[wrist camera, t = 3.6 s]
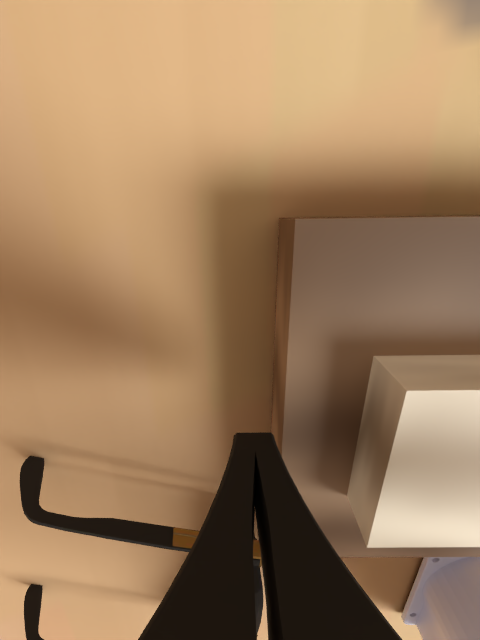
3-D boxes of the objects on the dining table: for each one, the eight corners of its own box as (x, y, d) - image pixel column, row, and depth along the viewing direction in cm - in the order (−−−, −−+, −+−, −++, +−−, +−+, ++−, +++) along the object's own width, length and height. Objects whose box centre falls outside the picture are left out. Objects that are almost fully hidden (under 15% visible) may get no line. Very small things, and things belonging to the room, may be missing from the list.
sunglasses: (34, 449, 16) (-50, 545, 11) (274, 497, 18) (286, 598, 13) (34, 579, 21) (-24, 682, 16) (222, 607, 22) (217, 710, 18)
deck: (558, 489, 17) (636, 556, 13) (268, 491, 17) (275, 558, 13) (722, 212, 11) (929, 210, 8) (279, 218, 11) (295, 219, 8)
